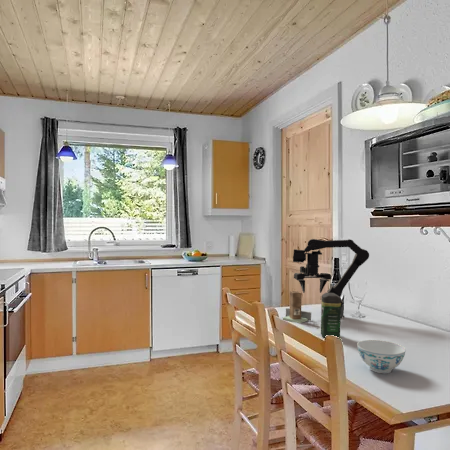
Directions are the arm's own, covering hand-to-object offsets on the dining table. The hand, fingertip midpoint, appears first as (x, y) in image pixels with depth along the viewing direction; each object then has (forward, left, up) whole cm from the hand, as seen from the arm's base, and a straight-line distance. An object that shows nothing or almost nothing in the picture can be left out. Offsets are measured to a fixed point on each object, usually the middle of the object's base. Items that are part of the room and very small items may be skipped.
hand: (312, 292), depth 211 cm
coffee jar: (-25, +30, -12) cm, 41 cm away
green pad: (+1, +15, -12) cm, 19 cm away
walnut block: (+1, +15, -11) cm, 19 cm away
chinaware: (-55, +55, -12) cm, 79 cm away
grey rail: (+2, +11, -12) cm, 16 cm away
